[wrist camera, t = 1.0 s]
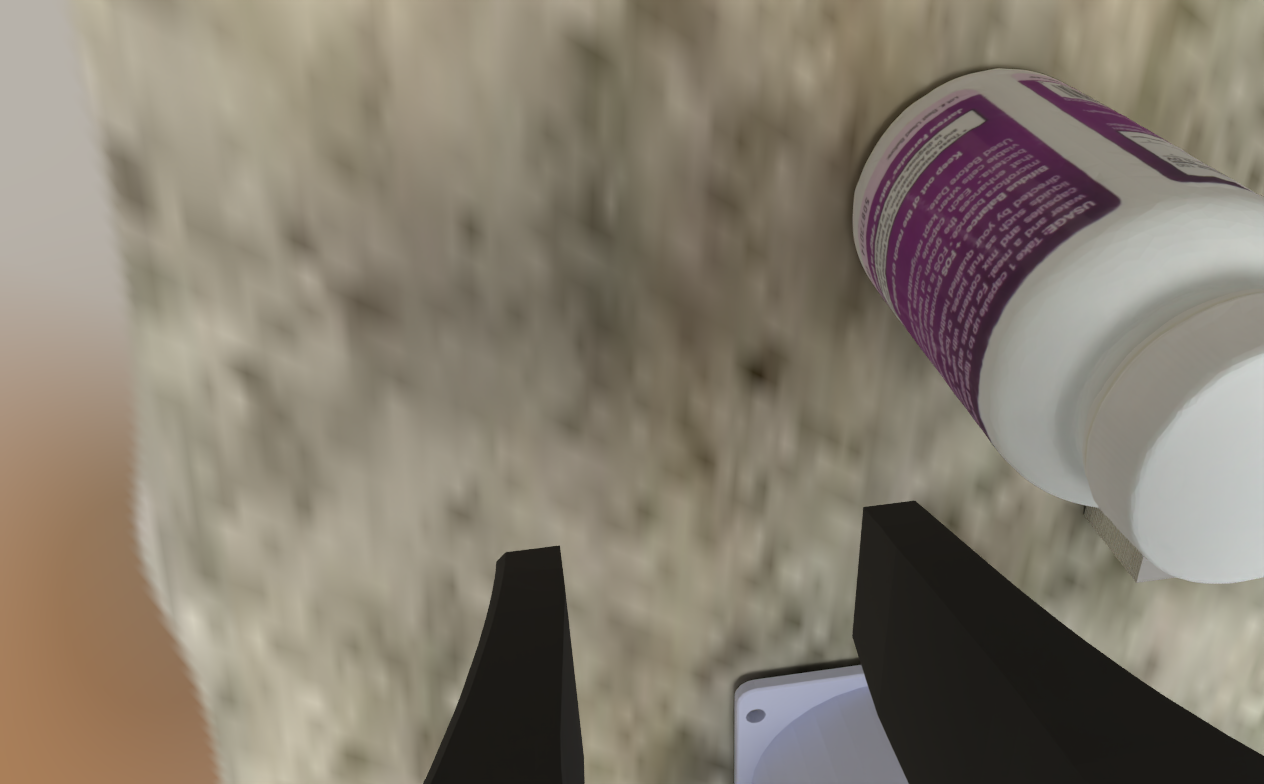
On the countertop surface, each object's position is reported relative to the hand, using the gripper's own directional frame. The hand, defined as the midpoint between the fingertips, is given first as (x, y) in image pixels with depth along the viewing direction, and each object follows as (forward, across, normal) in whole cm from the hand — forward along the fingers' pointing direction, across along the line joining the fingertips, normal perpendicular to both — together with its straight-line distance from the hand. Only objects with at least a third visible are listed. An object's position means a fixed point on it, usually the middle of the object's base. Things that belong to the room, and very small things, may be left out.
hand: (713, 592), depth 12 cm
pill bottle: (+11, -8, 0) cm, 13 cm away
